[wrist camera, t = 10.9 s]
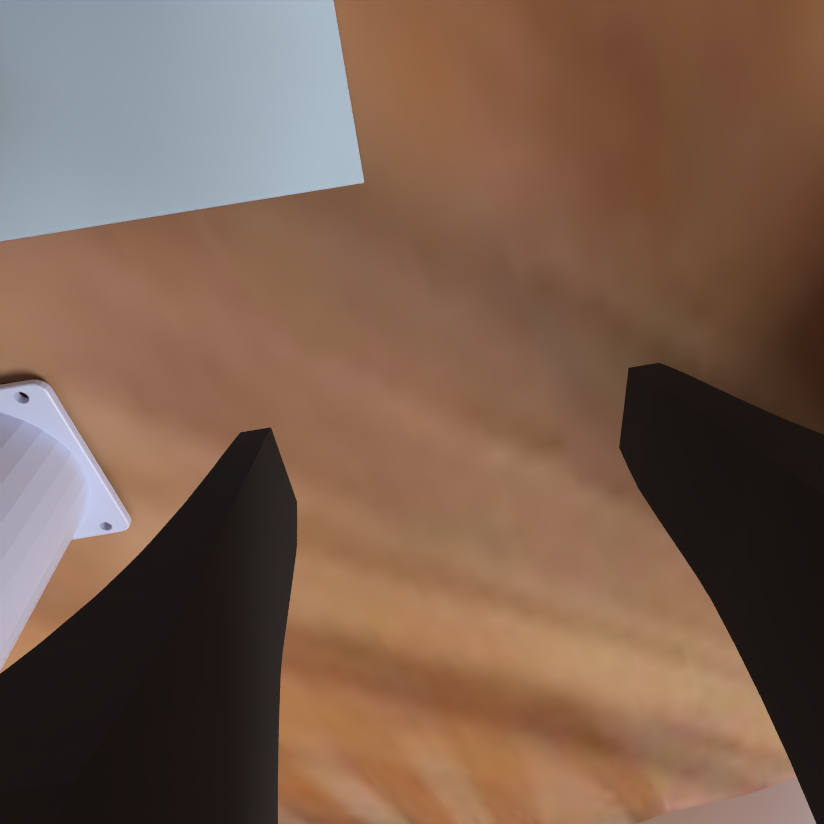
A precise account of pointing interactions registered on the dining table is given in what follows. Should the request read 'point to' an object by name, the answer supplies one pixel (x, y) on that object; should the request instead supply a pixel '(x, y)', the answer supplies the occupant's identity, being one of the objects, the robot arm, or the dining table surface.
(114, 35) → the base
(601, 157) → the dining table surface
